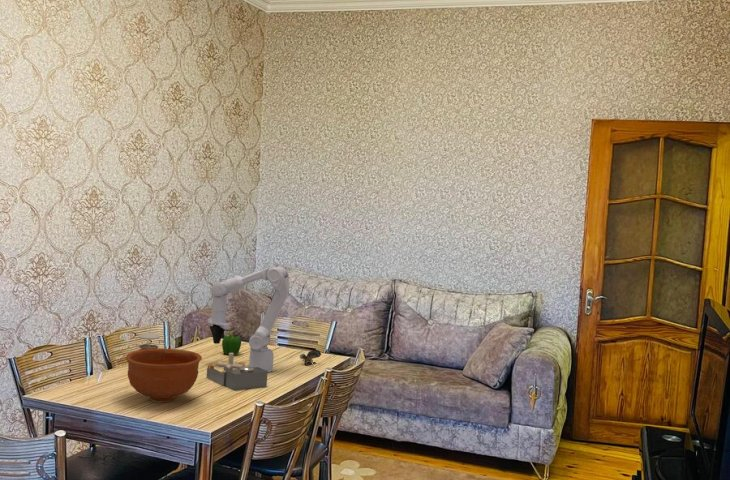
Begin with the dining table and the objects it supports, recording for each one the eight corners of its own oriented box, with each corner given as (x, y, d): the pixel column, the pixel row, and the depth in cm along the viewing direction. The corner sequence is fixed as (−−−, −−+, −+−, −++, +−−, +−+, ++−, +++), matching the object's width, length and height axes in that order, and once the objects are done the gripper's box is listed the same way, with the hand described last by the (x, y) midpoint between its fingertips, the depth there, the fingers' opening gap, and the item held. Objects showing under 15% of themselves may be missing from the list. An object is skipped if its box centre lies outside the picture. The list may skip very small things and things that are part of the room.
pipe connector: (237, 383, 271) (239, 357, 271) (212, 380, 273) (214, 354, 272) (246, 377, 281) (247, 352, 280) (221, 374, 282) (223, 349, 282)
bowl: (210, 395, 252) (213, 353, 251) (176, 413, 227) (180, 367, 227) (147, 386, 257) (150, 345, 256) (107, 403, 233) (110, 357, 232)
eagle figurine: (316, 365, 307) (324, 357, 315) (308, 350, 307) (316, 344, 315) (303, 372, 310) (311, 364, 318) (294, 357, 310) (303, 350, 318)
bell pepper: (243, 353, 323) (244, 332, 323) (235, 357, 315) (237, 334, 315) (226, 351, 325) (227, 330, 325) (218, 354, 317) (220, 332, 317)
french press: (134, 367, 282) (138, 305, 281) (164, 368, 285) (168, 306, 284) (134, 373, 272) (138, 309, 271) (165, 374, 276) (169, 310, 275)
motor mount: (240, 374, 285) (241, 356, 285) (267, 386, 270) (269, 368, 269) (206, 377, 276) (207, 359, 275) (232, 390, 260) (234, 371, 260)
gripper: (202, 308, 298) (199, 340, 299) (218, 314, 287) (216, 347, 288) (217, 308, 303) (214, 339, 303) (234, 313, 292) (231, 346, 292)
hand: (216, 343), depth 296 cm, fingers closed
